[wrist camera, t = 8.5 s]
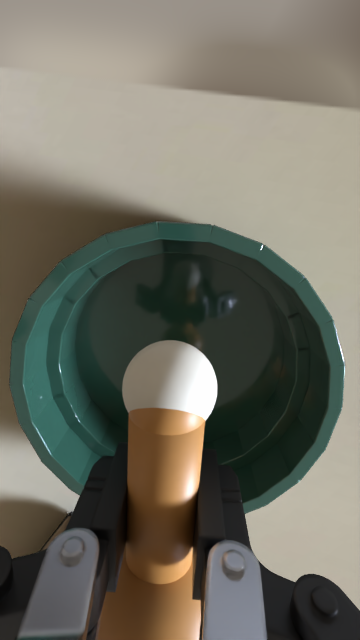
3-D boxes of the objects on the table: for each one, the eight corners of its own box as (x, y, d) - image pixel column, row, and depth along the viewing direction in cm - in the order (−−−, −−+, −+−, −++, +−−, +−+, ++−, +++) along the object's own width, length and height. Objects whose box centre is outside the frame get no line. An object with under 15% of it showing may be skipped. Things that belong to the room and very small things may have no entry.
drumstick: (103, 322, 10) (28, 395, 6) (249, 334, 10) (290, 419, 6) (105, 582, 14) (57, 760, 9) (215, 595, 14) (224, 784, 9)
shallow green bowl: (48, 215, 20) (-9, 210, 14) (327, 233, 20) (383, 235, 14) (60, 448, 25) (21, 513, 19) (284, 465, 25) (312, 537, 19)
